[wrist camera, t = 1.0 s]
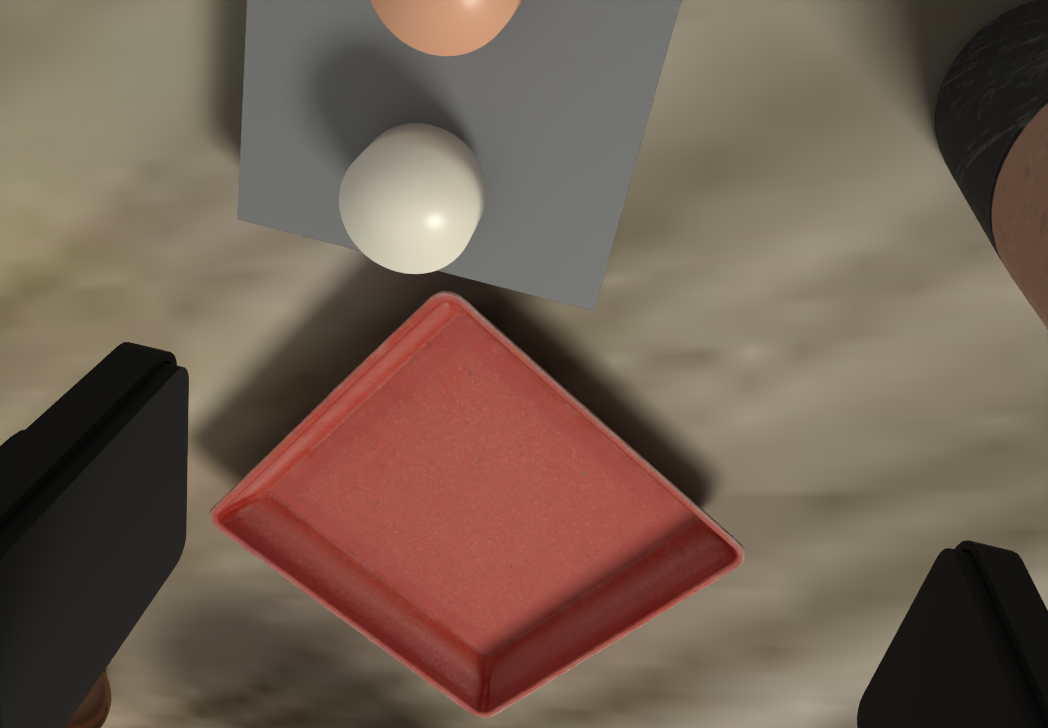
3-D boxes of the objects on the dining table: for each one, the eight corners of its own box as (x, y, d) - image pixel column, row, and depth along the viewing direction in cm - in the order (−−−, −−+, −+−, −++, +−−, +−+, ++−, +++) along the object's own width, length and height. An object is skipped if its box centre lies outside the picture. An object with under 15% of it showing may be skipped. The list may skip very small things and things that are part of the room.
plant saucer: (751, 512, 43) (756, 561, 41) (493, 677, 52) (482, 727, 49) (462, 248, 39) (443, 283, 36) (230, 475, 47) (200, 518, 44)
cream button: (366, 108, 32) (346, 127, 30) (497, 141, 32) (485, 162, 30) (352, 230, 34) (332, 255, 32) (474, 261, 34) (461, 288, 32)
